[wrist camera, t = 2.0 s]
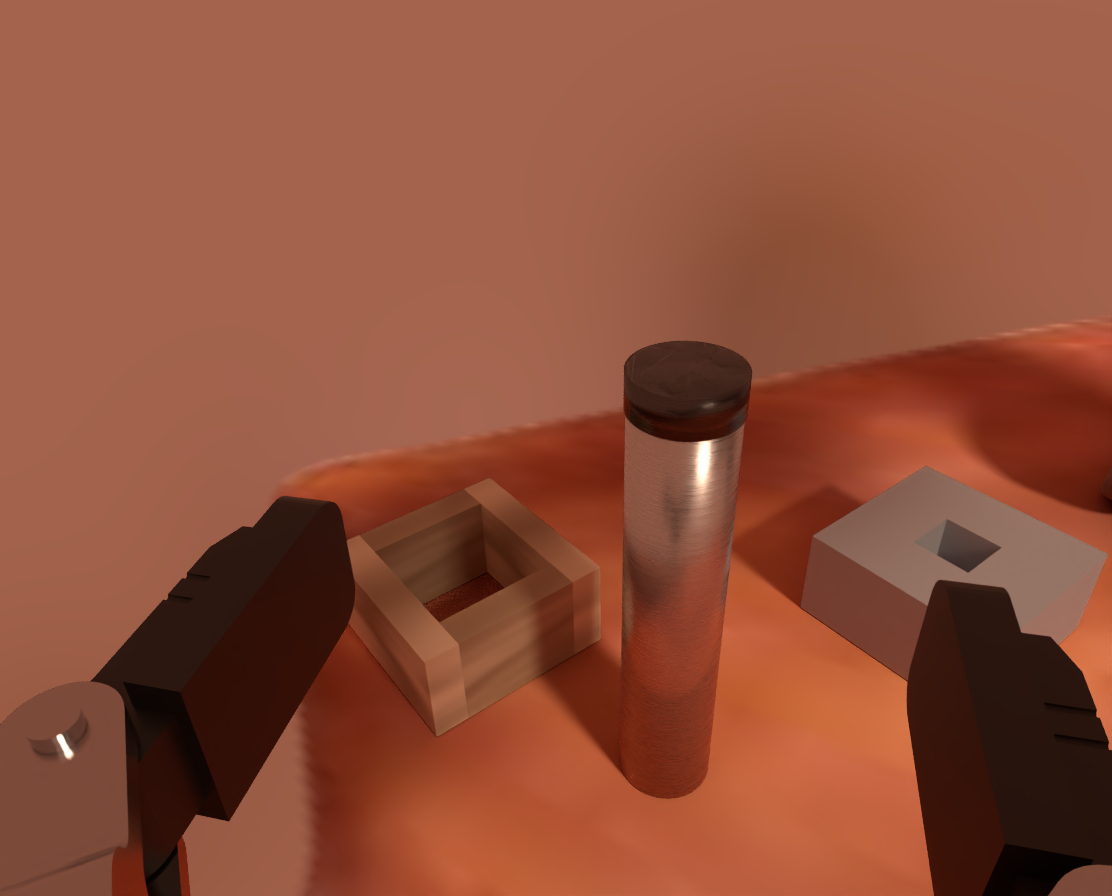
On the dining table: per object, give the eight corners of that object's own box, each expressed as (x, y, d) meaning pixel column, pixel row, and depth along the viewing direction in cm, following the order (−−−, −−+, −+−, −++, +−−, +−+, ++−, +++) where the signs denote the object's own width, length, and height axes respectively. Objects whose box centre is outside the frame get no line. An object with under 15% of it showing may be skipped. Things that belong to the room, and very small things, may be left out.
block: (1077, 627, 36) (1108, 554, 34) (970, 724, 32) (998, 648, 30) (908, 533, 41) (926, 465, 39) (800, 607, 37) (812, 535, 35)
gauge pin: (729, 765, 31) (779, 372, 22) (661, 817, 29) (686, 414, 20) (665, 708, 33) (687, 330, 24) (599, 753, 31) (598, 365, 22)
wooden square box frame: (600, 639, 36) (600, 567, 34) (436, 736, 32) (424, 662, 30) (495, 544, 41) (489, 477, 39) (344, 618, 37) (328, 548, 35)
